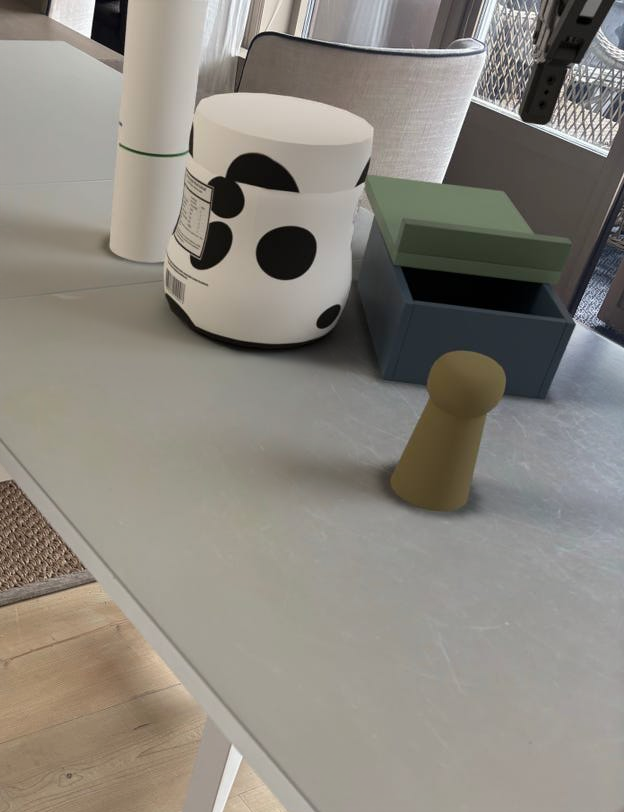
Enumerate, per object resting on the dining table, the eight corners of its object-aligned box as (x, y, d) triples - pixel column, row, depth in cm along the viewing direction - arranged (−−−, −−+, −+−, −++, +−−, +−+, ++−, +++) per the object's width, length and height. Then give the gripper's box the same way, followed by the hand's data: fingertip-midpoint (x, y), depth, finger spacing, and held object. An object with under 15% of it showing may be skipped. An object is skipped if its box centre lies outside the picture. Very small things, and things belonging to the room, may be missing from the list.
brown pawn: (371, 488, 73) (412, 352, 66) (417, 464, 77) (461, 332, 69) (437, 527, 70) (488, 389, 63) (482, 500, 74) (535, 366, 66)
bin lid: (500, 202, 105) (512, 166, 102) (556, 285, 88) (573, 243, 85) (362, 185, 104) (371, 148, 102) (393, 265, 87) (405, 223, 85)
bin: (491, 305, 103) (517, 232, 98) (542, 405, 87) (576, 324, 82) (355, 289, 102) (374, 214, 97) (381, 385, 86) (405, 302, 81)
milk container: (361, 319, 97) (413, 121, 85) (298, 384, 85) (348, 165, 73) (205, 271, 102) (233, 78, 90) (125, 326, 90) (145, 112, 78)
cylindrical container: (168, 243, 107) (200, -30, 90) (181, 269, 102) (218, -16, 85) (104, 240, 105) (125, -38, 89) (114, 266, 100) (137, -23, 83)
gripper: (724, -167, 56) (599, 153, 68) (667, -174, 66) (567, 107, 78) (594, -186, 57) (492, 137, 68) (557, -190, 66) (473, 93, 78)
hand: (532, 120), depth 73 cm, fingers closed
